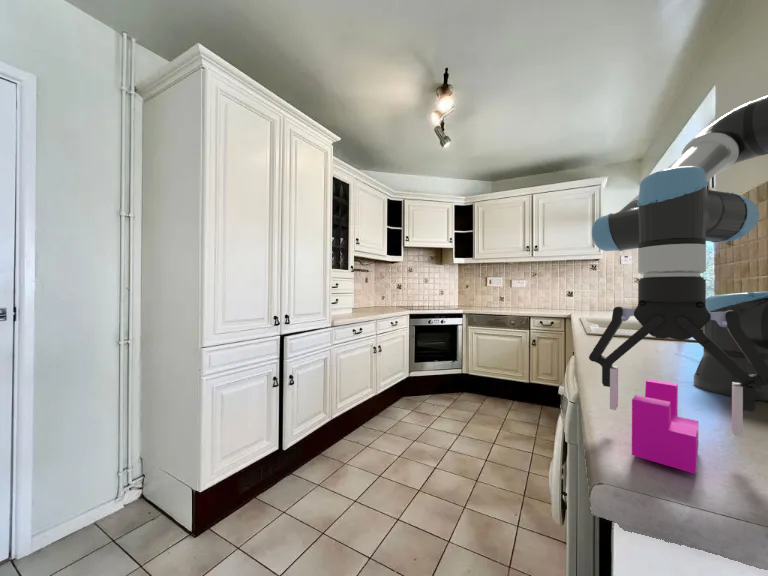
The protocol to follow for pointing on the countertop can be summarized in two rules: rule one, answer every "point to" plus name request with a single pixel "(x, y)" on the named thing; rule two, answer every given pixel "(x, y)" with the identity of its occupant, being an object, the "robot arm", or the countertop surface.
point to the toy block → (663, 428)
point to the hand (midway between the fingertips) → (669, 419)
